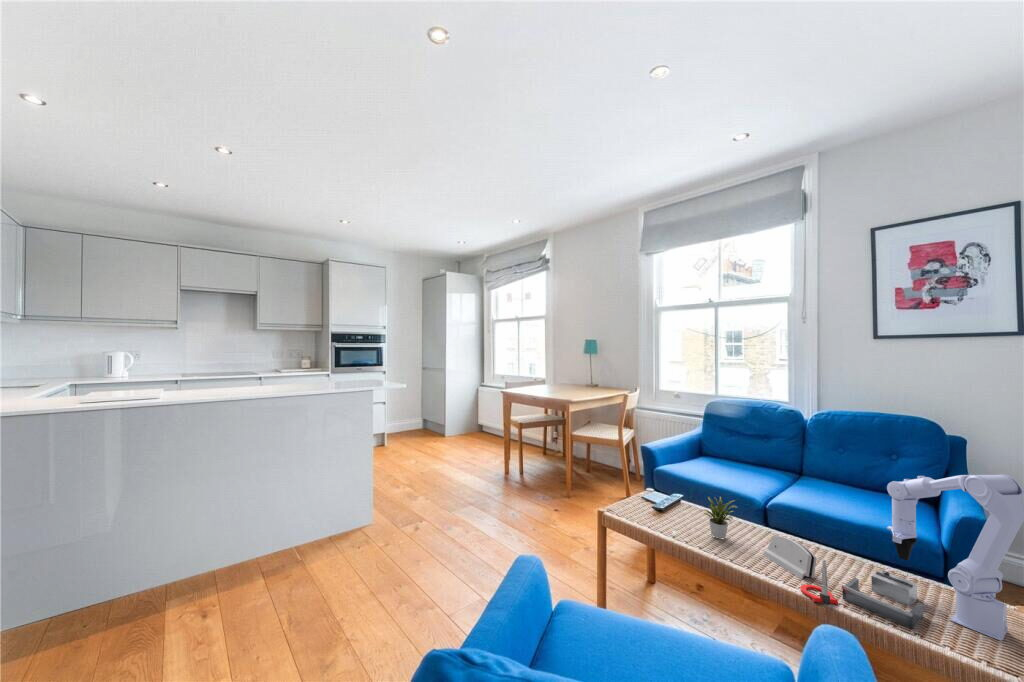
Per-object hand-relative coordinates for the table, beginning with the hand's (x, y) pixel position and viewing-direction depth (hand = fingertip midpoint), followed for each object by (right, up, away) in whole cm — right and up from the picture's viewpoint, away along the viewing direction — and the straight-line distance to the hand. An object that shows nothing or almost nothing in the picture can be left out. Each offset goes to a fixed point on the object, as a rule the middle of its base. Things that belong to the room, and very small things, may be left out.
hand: (903, 558), depth 135 cm
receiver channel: (-18, -8, -12) cm, 23 cm away
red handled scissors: (-33, -9, -6) cm, 35 cm away
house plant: (-43, -9, +33) cm, 55 cm away
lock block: (-8, -9, -5) cm, 13 cm away
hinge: (-30, -9, +11) cm, 33 cm away
